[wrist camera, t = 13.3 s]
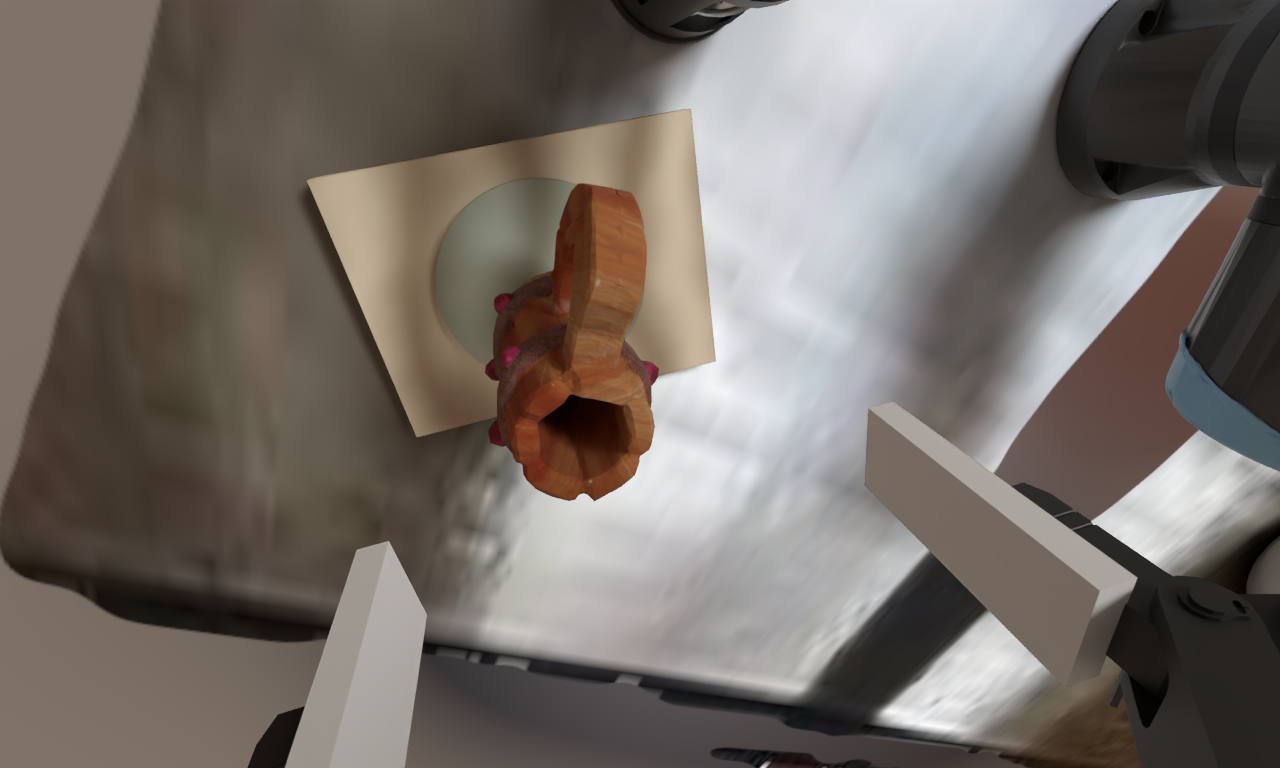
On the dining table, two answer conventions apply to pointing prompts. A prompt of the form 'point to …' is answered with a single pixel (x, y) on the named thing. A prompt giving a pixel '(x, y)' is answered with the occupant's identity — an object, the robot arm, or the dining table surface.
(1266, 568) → the decorative bowl
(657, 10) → the french press
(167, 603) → the dining table surface
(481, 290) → the serving board
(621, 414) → the mug
